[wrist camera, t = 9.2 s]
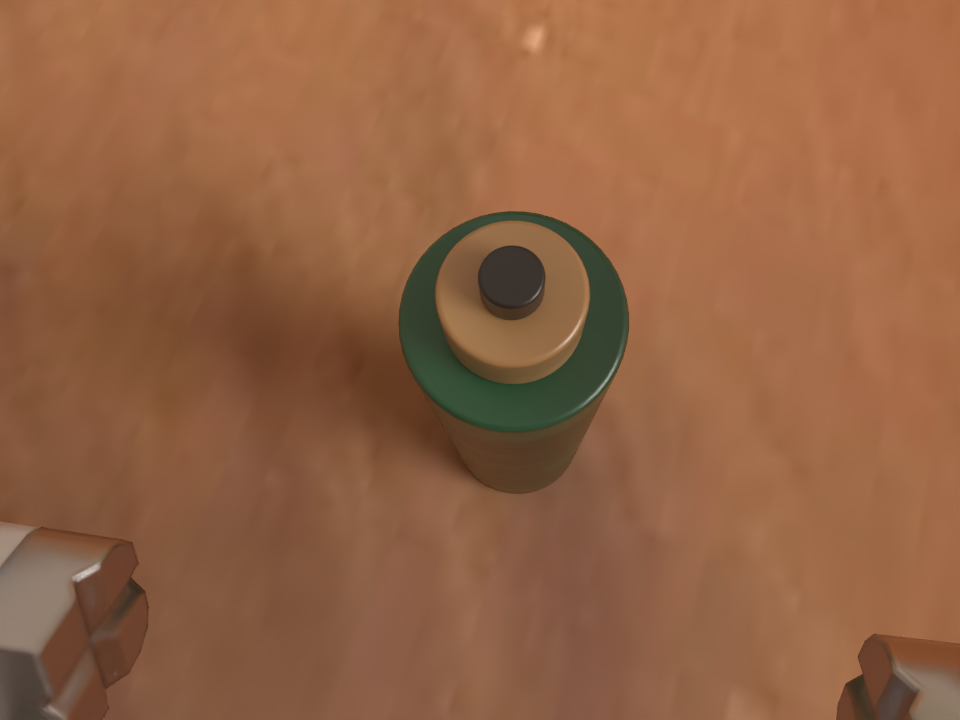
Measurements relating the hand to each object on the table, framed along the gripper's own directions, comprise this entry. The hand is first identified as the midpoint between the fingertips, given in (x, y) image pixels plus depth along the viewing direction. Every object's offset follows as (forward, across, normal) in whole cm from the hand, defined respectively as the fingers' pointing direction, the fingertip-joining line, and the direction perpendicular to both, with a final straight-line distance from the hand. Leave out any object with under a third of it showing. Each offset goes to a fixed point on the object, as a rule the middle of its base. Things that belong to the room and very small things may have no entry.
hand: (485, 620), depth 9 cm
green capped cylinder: (+9, 0, -4) cm, 10 cm away
